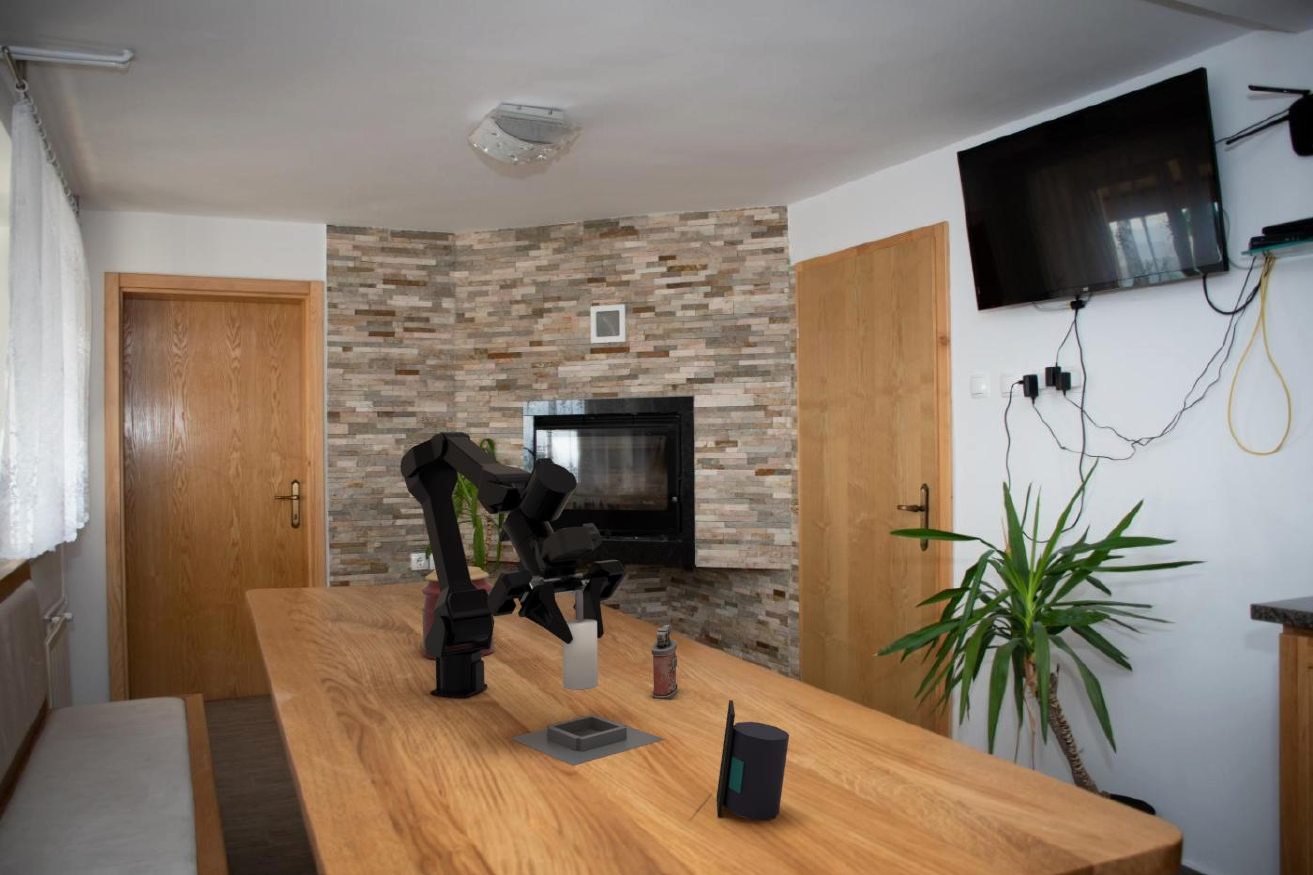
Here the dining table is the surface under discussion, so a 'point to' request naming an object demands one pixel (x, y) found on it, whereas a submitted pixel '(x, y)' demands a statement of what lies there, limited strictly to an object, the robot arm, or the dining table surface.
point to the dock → (585, 739)
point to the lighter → (664, 665)
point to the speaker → (751, 768)
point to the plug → (580, 651)
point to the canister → (431, 598)
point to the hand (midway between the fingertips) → (586, 638)
